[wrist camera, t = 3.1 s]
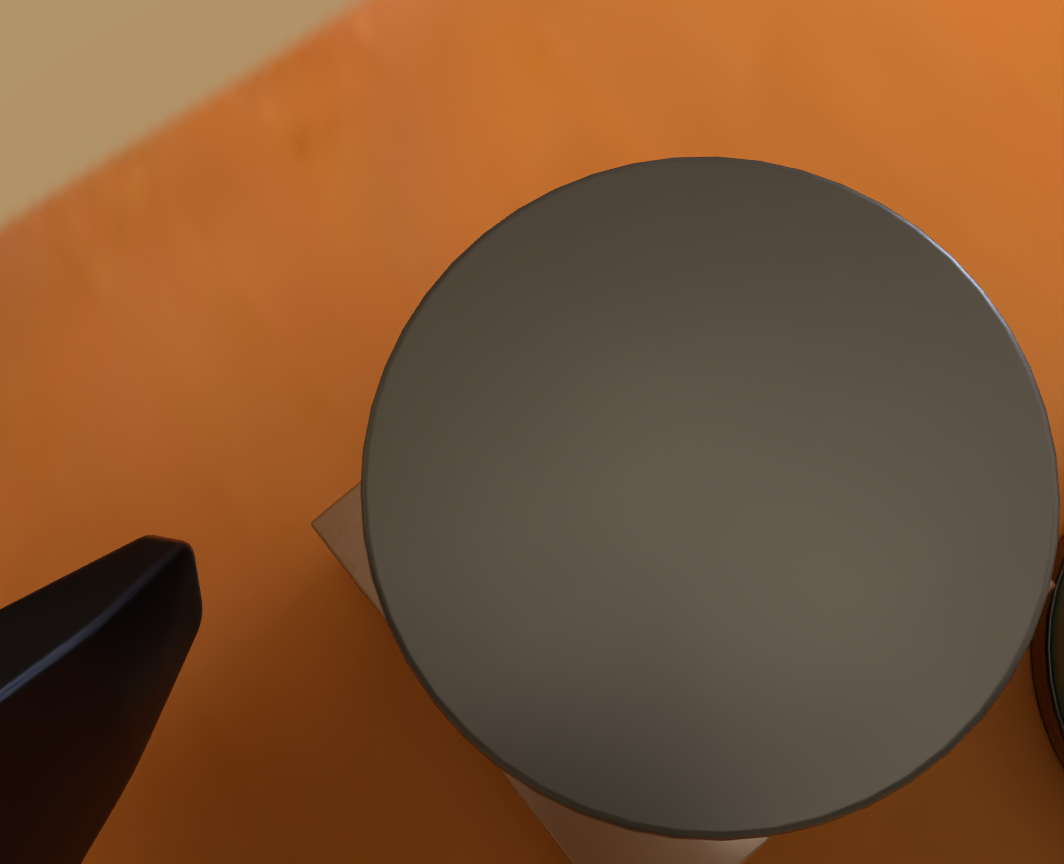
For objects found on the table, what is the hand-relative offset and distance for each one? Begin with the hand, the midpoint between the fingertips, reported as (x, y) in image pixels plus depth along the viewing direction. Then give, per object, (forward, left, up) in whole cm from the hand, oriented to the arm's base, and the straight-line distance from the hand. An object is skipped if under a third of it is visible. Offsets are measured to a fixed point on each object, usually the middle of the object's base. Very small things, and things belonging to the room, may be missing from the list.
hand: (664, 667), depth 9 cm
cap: (+1, +1, -7) cm, 7 cm away
